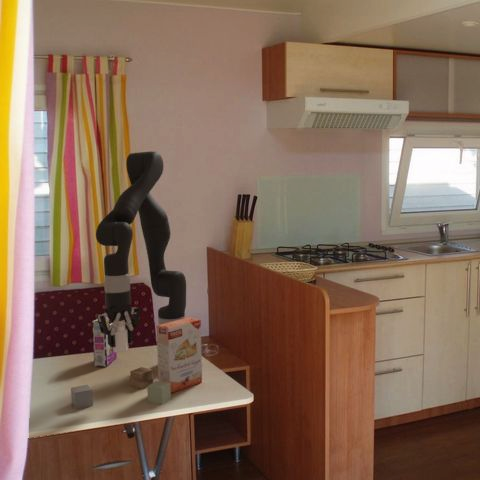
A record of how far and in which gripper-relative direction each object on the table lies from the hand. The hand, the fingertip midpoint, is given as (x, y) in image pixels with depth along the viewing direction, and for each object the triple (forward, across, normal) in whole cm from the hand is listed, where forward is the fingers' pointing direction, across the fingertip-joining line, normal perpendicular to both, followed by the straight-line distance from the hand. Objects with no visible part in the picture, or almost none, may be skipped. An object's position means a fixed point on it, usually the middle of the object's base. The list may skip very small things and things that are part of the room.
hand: (120, 344), depth 199 cm
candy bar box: (+17, -16, -36) cm, 43 cm away
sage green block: (+17, -7, +9) cm, 20 cm away
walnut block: (+17, -11, -6) cm, 21 cm away
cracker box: (+17, -19, +4) cm, 26 cm away
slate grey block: (+17, +11, -5) cm, 21 cm away
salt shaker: (+2, 0, 0) cm, 2 cm away
